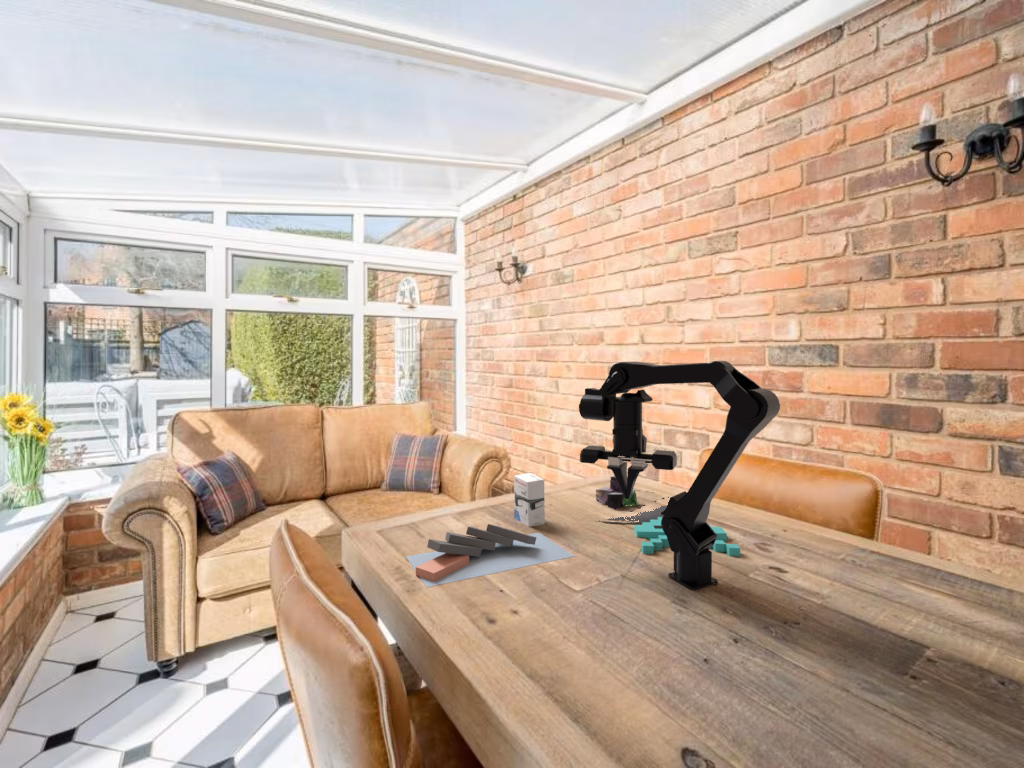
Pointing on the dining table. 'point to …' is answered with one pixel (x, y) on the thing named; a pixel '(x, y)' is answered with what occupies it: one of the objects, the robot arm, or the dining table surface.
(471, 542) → the domino
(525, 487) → the ink box
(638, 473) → the robot arm
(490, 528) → the domino
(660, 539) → the alien figure
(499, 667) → the dining table surface
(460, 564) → the domino
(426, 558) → the mat
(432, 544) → the domino
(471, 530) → the domino
